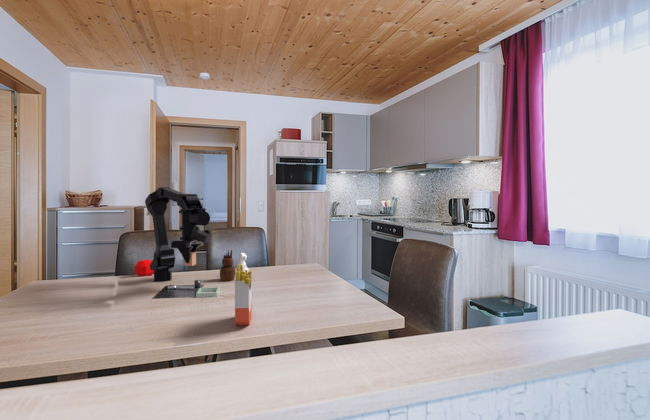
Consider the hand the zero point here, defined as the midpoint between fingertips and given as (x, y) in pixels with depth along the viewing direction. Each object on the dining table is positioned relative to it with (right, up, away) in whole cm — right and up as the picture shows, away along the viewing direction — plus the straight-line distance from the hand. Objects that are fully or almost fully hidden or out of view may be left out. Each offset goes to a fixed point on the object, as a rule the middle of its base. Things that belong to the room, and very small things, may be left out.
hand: (190, 262), depth 141 cm
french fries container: (+30, -15, -32) cm, 46 cm away
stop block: (0, -1, 0) cm, 1 cm away
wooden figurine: (+11, -12, +15) cm, 22 cm away
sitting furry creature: (+15, -11, +25) cm, 31 cm away
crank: (-2, -11, 0) cm, 11 cm away
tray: (+10, -13, -6) cm, 17 cm away
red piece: (-31, -11, +24) cm, 41 cm away
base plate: (-3, -12, -3) cm, 13 cm away
